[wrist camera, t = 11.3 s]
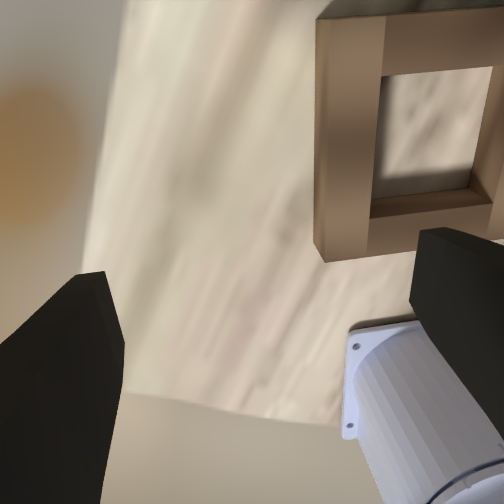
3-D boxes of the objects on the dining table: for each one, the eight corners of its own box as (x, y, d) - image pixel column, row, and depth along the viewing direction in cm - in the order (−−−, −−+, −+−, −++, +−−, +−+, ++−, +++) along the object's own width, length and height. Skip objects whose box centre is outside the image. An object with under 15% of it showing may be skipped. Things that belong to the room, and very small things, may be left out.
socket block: (496, 219, 23) (522, 236, 21) (313, 242, 22) (325, 262, 20) (550, 1, 18) (590, 0, 16) (315, 19, 17) (331, 20, 15)
